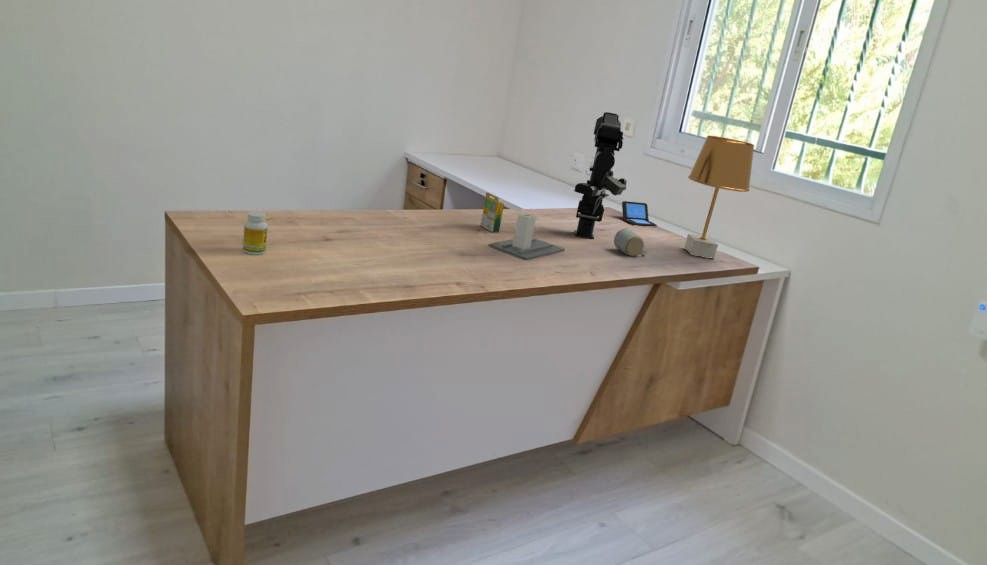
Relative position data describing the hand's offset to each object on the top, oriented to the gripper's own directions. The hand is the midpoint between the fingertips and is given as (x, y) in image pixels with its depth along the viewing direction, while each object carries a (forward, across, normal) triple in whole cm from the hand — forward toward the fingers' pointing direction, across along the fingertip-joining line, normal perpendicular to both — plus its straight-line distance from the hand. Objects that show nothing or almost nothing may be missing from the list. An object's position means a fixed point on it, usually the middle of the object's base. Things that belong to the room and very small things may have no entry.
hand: (591, 214), depth 220 cm
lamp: (+12, +44, -23) cm, 51 cm away
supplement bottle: (+12, -96, +39) cm, 104 cm away
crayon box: (+12, -13, +29) cm, 34 cm away
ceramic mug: (+12, +15, -10) cm, 22 cm away
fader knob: (+11, -22, +10) cm, 27 cm away
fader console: (+12, -18, +10) cm, 24 cm away
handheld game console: (+12, +64, +11) cm, 66 cm away
